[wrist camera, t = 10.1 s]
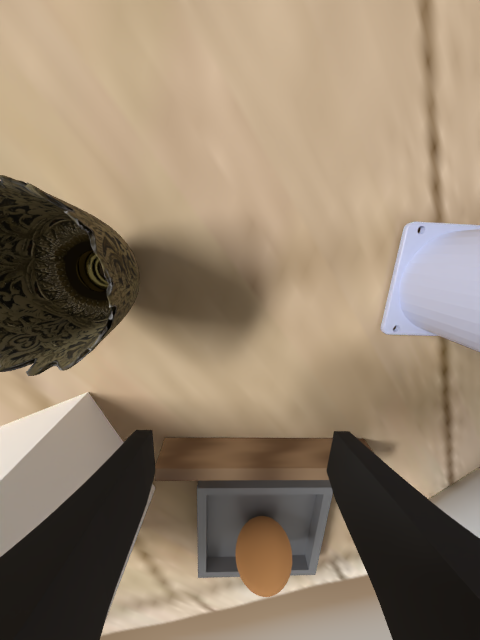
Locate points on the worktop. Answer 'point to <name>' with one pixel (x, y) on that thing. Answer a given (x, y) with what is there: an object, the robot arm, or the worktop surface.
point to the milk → (51, 464)
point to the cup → (57, 280)
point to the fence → (243, 459)
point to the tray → (260, 500)
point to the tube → (462, 501)
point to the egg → (263, 556)
